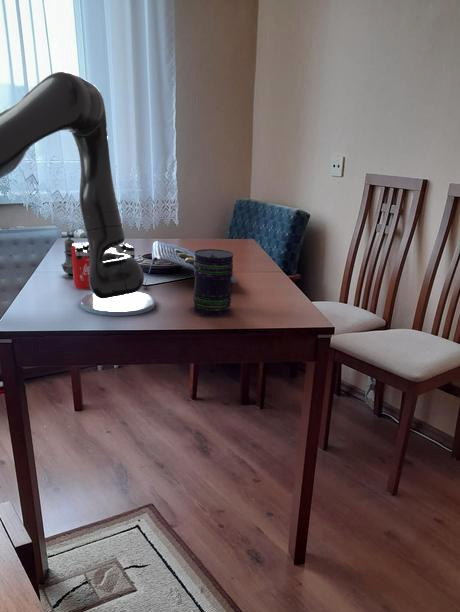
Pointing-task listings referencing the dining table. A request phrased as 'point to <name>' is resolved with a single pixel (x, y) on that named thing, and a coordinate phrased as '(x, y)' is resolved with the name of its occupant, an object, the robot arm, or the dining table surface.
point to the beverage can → (80, 270)
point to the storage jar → (212, 282)
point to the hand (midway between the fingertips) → (101, 244)
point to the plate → (118, 304)
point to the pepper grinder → (68, 259)
